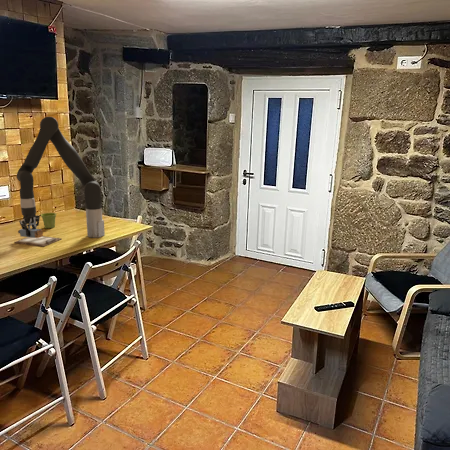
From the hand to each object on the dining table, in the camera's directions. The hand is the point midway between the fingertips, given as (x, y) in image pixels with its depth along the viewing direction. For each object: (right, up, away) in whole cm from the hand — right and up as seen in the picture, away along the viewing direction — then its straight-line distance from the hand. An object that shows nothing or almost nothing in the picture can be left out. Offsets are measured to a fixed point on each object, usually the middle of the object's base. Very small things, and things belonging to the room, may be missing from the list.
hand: (31, 235), depth 240 cm
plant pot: (-3, +4, +32) cm, 33 cm away
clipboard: (+2, -4, +3) cm, 6 cm away
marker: (-1, -1, +1) cm, 1 cm away
